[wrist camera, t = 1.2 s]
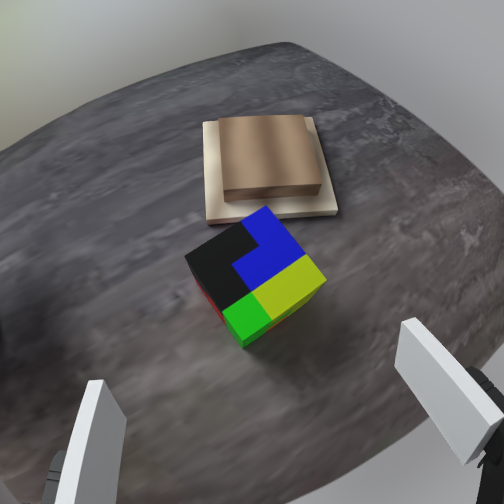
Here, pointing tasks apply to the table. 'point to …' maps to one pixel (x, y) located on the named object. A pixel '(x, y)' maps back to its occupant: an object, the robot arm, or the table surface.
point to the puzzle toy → (254, 275)
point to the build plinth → (252, 206)
